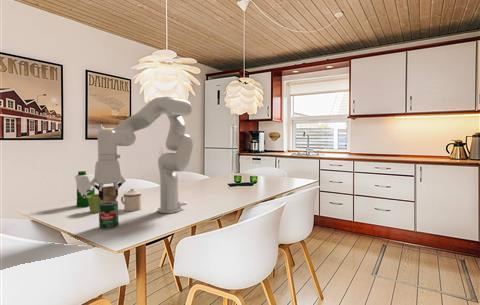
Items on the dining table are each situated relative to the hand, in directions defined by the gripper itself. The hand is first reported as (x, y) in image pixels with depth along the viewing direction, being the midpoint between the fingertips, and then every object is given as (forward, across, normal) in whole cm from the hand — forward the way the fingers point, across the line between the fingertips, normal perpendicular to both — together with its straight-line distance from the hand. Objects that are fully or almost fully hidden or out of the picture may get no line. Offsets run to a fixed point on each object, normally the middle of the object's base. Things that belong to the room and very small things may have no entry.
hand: (108, 198), depth 124 cm
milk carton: (+13, +1, -51) cm, 53 cm away
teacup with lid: (+13, -17, -26) cm, 34 cm away
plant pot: (+13, -1, -32) cm, 35 cm away
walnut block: (+1, 0, 0) cm, 1 cm away
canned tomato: (+13, 0, 0) cm, 13 cm away
